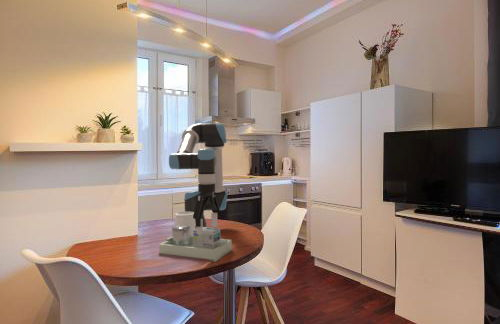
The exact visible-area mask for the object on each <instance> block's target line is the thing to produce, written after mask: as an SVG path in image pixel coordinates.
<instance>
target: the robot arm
mask: <svg viewBox="0 0 500 324" xmlns="http://www.w3.org/2000/svg"><path fill="white" fill-rule="evenodd" d="M227 142H228V141H227V134H226V127H225V125H224V124H223V123H217V122H215V123H214V122H213V123H195V124H192V125H190V126H188V127H187V128H186V129H185V130H184V131H183V133H182V135H181V141H180V145H179V147H178V150H177V151H176V153H170V154H169V156H168V165H169V168H170V169H171V170H197V173H198V174H197V182H198V185H197V186H198V187H197V189H193V190H189V191H186V192H185V193H184V200H183V201H184V212H194V214H193V218H194V219H195V223H196V226H195V229H196V231H197V234H203V227H207V226H208V225H207V221H206V220H207V219H206V218H205V215H204V214H205V213H204V212H205V211H211V216H210V218H211V228H218V213H219V214H220V211H224V210H225V209H227V203H228V193H229V191H226V188H225V187H224V183H223V181H224V180H223V148H224V147H225V144H226V143H227ZM197 144H204V147H205V148H200V149H198V150H197V152H196V153H195V152H194V151H195V150H194V149H195V147H196V145H197Z"/></svg>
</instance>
